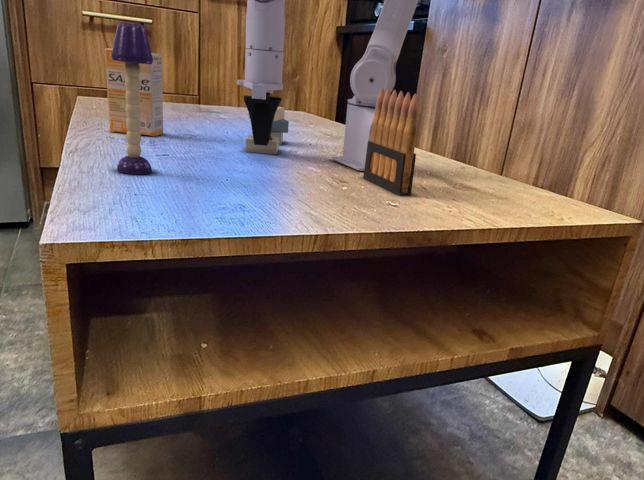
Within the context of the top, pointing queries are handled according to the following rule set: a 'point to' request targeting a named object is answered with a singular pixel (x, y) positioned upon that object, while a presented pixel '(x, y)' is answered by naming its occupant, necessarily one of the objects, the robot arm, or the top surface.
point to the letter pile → (279, 124)
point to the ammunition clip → (392, 142)
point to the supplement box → (148, 93)
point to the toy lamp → (132, 90)
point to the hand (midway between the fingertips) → (261, 144)
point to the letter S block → (268, 149)
